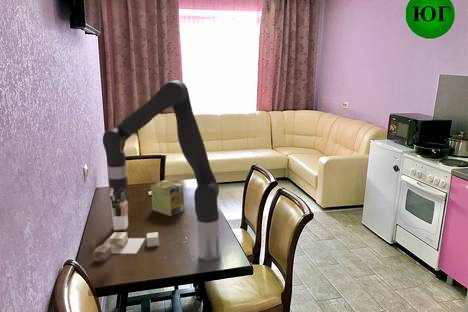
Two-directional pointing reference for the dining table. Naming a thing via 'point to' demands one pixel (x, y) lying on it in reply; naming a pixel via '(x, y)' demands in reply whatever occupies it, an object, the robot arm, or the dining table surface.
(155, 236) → the sage block
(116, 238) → the birch block
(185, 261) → the dining table surface
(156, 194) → the protein box
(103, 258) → the walnut block
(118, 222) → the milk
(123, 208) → the terracotta block
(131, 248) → the mat
